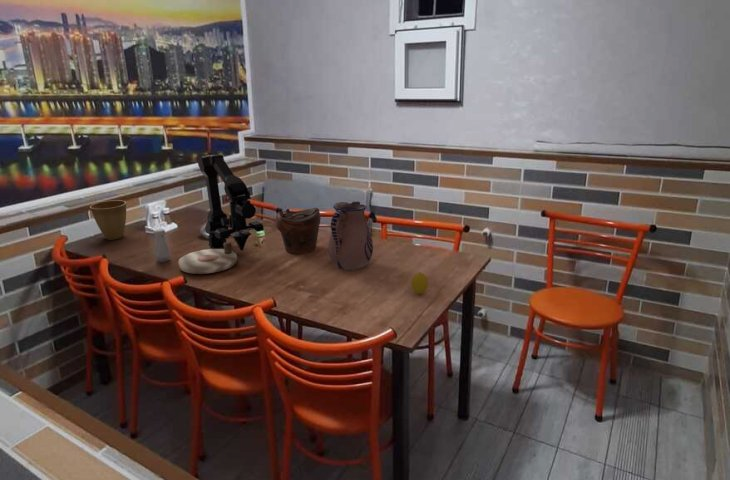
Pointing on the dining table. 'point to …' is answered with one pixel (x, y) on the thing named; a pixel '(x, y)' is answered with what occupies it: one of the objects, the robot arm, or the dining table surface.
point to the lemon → (419, 283)
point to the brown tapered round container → (299, 229)
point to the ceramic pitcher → (350, 236)
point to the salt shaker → (161, 246)
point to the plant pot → (110, 218)
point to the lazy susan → (208, 260)
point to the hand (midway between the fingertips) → (241, 250)
